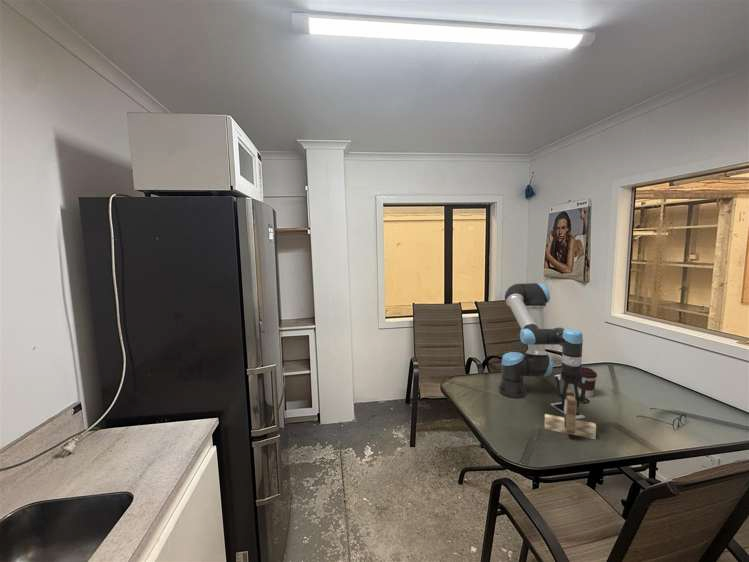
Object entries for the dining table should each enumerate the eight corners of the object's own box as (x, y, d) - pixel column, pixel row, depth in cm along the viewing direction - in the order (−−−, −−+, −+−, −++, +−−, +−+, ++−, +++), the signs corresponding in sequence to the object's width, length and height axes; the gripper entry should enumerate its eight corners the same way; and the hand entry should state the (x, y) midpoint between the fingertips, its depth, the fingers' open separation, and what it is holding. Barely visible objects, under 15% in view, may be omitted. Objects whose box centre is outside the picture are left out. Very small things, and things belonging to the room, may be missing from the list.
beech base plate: (544, 428, 148) (545, 417, 148) (544, 425, 151) (544, 413, 150) (595, 439, 139) (596, 426, 139) (594, 435, 142) (595, 423, 141)
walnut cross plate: (574, 433, 139) (575, 401, 137) (566, 432, 140) (567, 400, 138) (571, 420, 149) (572, 390, 148) (564, 418, 151) (565, 389, 149)
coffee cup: (589, 390, 184) (590, 366, 182) (599, 398, 174) (601, 373, 173) (571, 390, 185) (572, 366, 183) (581, 398, 175) (582, 372, 174)
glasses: (674, 432, 144) (673, 421, 143) (635, 420, 157) (634, 410, 157) (687, 422, 150) (686, 412, 150) (648, 412, 163) (648, 402, 163)
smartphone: (573, 420, 155) (573, 418, 155) (550, 405, 170) (550, 403, 170) (585, 418, 157) (585, 416, 157) (561, 403, 172) (561, 401, 172)
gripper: (551, 364, 142) (550, 413, 144) (594, 369, 135) (592, 420, 137) (550, 358, 148) (549, 405, 151) (591, 363, 141) (589, 412, 144)
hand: (569, 412), depth 144 cm, fingers closed on walnut cross plate, 3 cm apart
